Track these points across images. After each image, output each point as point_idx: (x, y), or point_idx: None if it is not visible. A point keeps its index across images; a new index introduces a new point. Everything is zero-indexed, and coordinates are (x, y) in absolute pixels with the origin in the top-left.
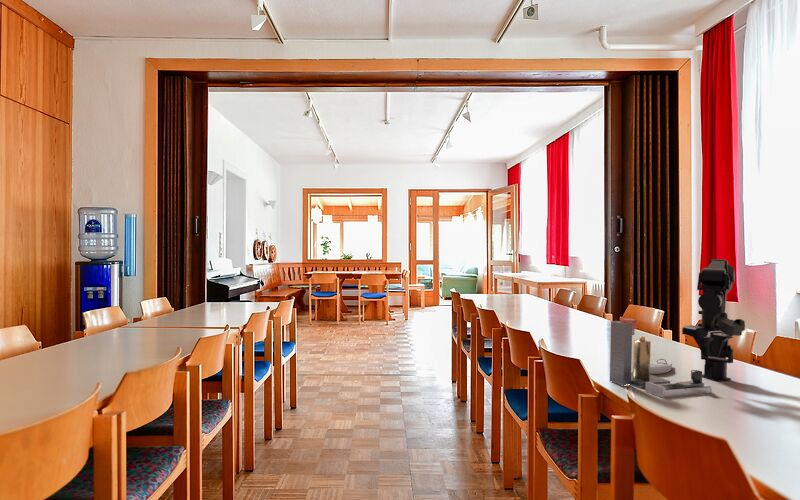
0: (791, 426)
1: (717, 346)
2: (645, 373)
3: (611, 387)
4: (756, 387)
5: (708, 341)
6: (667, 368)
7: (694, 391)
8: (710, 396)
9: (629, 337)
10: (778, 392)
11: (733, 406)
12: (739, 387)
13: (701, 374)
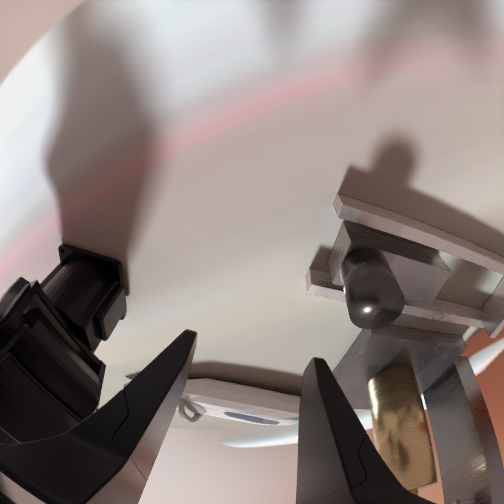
0: None
1: (159, 421)
2: (413, 383)
3: (484, 359)
4: (55, 147)
5: (399, 500)
6: (205, 388)
7: (434, 231)
8: (404, 173)
9: (494, 479)
10: (48, 74)
11: (464, 68)
12: (111, 174)
13: (383, 277)
